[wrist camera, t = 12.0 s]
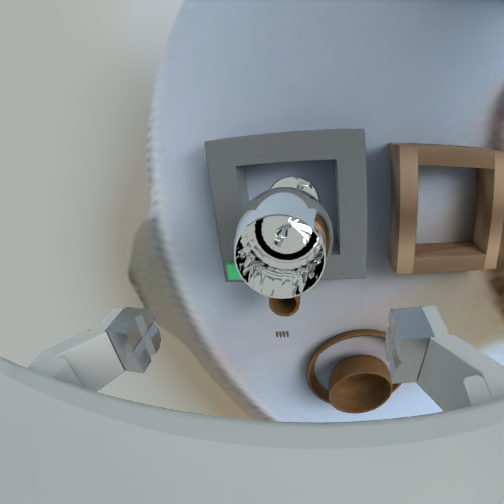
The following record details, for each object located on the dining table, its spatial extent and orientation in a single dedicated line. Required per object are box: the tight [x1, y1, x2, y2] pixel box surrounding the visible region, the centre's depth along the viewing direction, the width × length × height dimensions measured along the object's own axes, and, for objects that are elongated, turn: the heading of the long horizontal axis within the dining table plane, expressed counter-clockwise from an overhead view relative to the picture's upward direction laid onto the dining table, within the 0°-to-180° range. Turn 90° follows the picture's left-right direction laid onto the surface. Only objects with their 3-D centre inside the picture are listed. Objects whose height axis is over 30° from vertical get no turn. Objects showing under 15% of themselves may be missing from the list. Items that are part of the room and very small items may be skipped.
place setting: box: [269, 295, 402, 413], centre depth 29 cm, size 18×20×6 cm
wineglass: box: [234, 176, 333, 299], centre depth 21 cm, size 6×6×12 cm
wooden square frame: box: [389, 143, 504, 275], centre depth 22 cm, size 11×11×3 cm
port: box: [205, 129, 367, 282], centre depth 25 cm, size 12×12×3 cm
